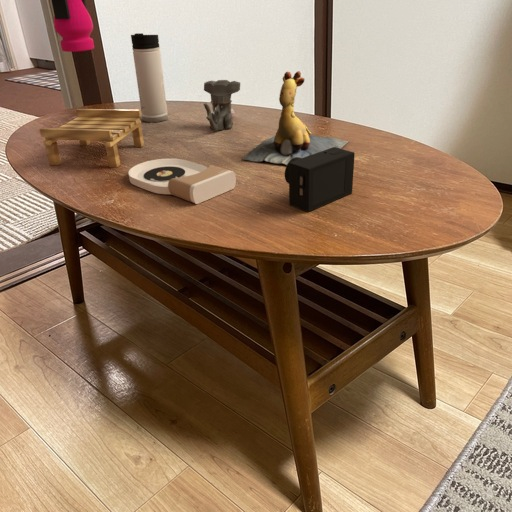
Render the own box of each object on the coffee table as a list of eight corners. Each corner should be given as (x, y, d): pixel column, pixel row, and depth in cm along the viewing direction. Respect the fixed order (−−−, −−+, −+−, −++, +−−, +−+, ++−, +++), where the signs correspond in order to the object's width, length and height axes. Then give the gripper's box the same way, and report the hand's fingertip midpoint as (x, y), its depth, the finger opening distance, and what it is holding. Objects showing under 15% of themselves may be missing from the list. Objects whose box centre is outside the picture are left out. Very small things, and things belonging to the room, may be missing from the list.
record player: (186, 189, 79) (114, 163, 92) (188, 207, 81) (117, 179, 93) (240, 168, 86) (166, 146, 99) (241, 185, 88) (168, 162, 100)
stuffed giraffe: (241, 159, 99) (242, 72, 91) (278, 136, 114) (281, 59, 106) (321, 172, 93) (328, 81, 86) (348, 146, 108) (357, 66, 100)
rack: (48, 166, 100) (39, 129, 96) (85, 142, 113) (78, 108, 109) (115, 168, 98) (109, 130, 94) (145, 144, 110) (140, 109, 107)
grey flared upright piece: (266, 122, 122) (265, 78, 117) (207, 140, 112) (203, 92, 107) (225, 112, 131) (223, 71, 126) (168, 128, 121) (162, 84, 116)
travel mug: (137, 122, 126) (124, 33, 116) (148, 115, 131) (137, 30, 121) (161, 123, 124) (150, 33, 114) (171, 116, 130) (162, 30, 120)
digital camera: (327, 184, 87) (328, 144, 84) (352, 193, 84) (355, 151, 80) (283, 202, 82) (282, 160, 78) (308, 212, 78) (309, 168, 74)
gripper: (33, -141, 80) (65, 21, 91) (89, -124, 96) (110, 11, 108) (-11, -138, 81) (26, 22, 92) (52, -122, 98) (77, 12, 109)
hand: (71, 16), depth 100 cm, fingers closed on pepper mill, 6 cm apart
